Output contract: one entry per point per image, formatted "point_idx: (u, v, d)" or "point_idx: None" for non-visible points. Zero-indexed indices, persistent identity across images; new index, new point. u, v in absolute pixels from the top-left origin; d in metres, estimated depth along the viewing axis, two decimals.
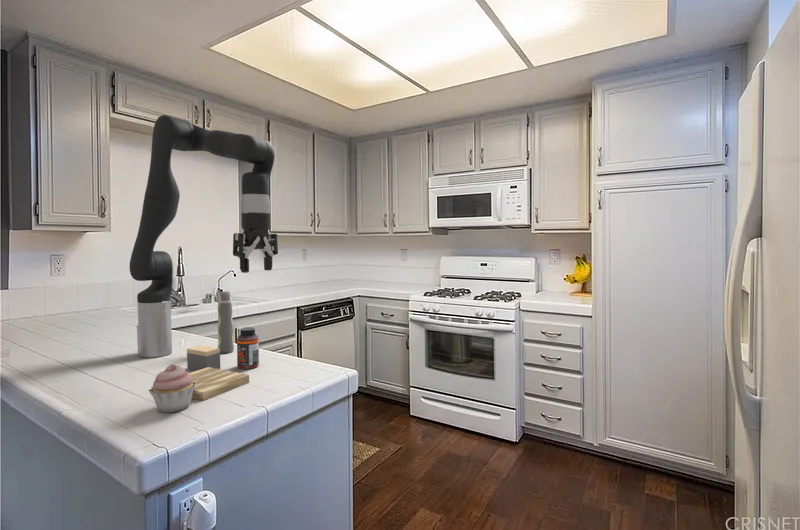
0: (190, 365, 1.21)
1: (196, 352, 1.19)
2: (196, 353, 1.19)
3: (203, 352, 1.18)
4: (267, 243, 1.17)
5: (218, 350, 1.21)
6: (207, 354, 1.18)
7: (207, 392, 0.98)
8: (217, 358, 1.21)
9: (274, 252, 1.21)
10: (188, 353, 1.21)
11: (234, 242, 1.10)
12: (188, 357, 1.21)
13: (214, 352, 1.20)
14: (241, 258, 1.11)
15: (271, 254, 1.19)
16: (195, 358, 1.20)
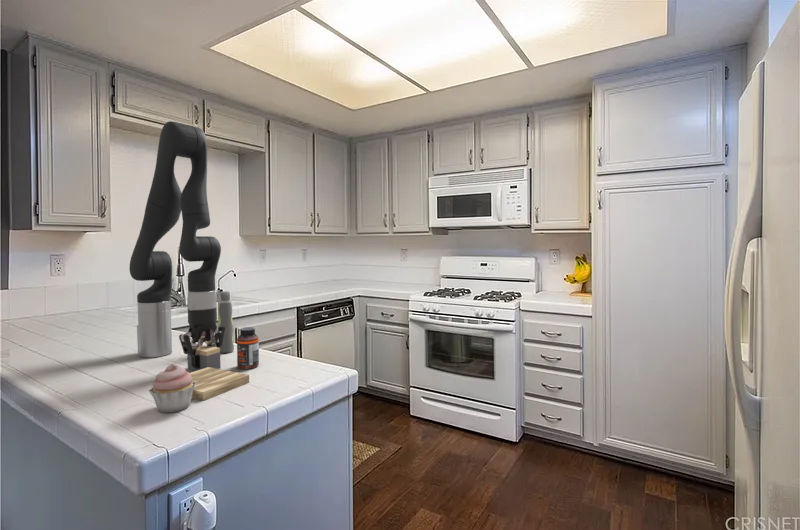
0: (190, 364, 1.21)
1: None
2: None
3: (203, 352, 1.18)
4: (212, 336, 1.22)
5: (218, 350, 1.21)
6: (207, 354, 1.18)
7: (207, 392, 0.98)
8: (217, 358, 1.21)
9: (218, 345, 1.25)
10: None
11: (182, 343, 1.16)
12: (188, 357, 1.21)
13: (214, 352, 1.20)
14: (193, 356, 1.18)
15: None
16: None
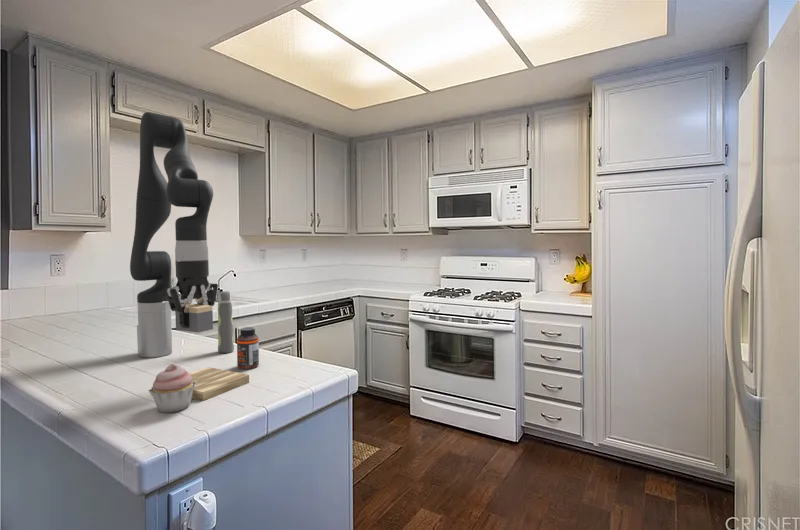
0: (179, 324, 1.07)
1: None
2: None
3: (193, 309, 1.04)
4: (204, 293, 1.08)
5: (210, 308, 1.07)
6: (198, 311, 1.04)
7: (207, 392, 0.98)
8: (209, 317, 1.07)
9: (210, 304, 1.11)
10: None
11: (168, 298, 1.02)
12: (176, 316, 1.07)
13: (206, 309, 1.06)
14: (181, 314, 1.05)
15: None
16: None
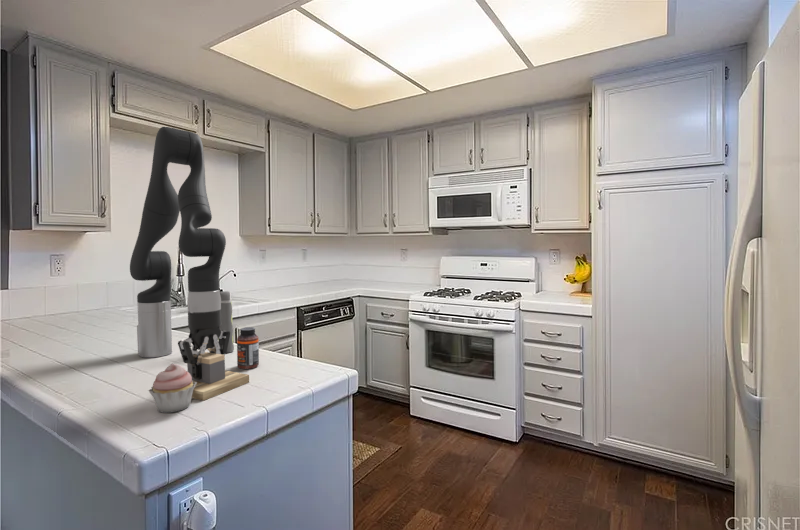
0: (191, 374, 1.06)
1: None
2: None
3: (206, 360, 1.03)
4: (216, 342, 1.07)
5: (223, 357, 1.06)
6: (210, 362, 1.03)
7: (207, 392, 0.98)
8: (222, 366, 1.06)
9: (222, 352, 1.10)
10: None
11: (181, 351, 1.01)
12: (188, 365, 1.06)
13: (218, 359, 1.05)
14: None
15: None
16: None
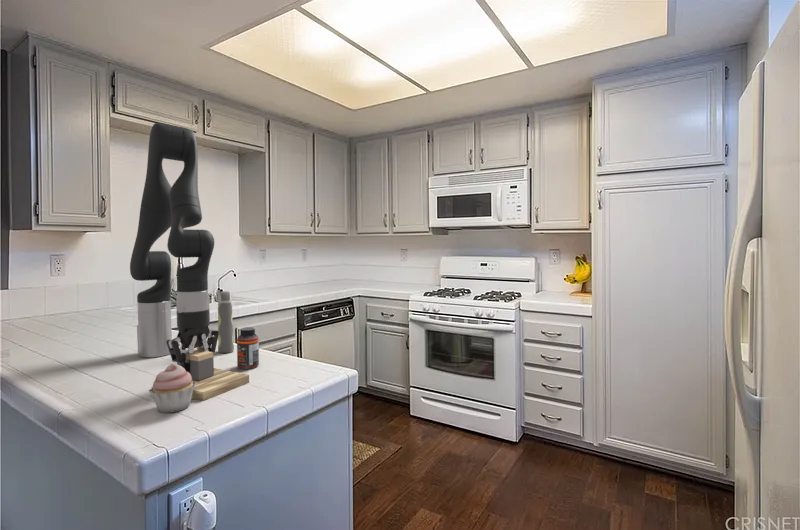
0: None
1: None
2: None
3: (194, 357, 1.05)
4: (205, 341, 1.09)
5: (211, 354, 1.08)
6: (199, 359, 1.05)
7: (207, 392, 0.98)
8: (210, 363, 1.08)
9: (211, 351, 1.12)
10: None
11: (170, 350, 1.03)
12: None
13: (207, 357, 1.07)
14: (182, 364, 1.05)
15: None
16: None
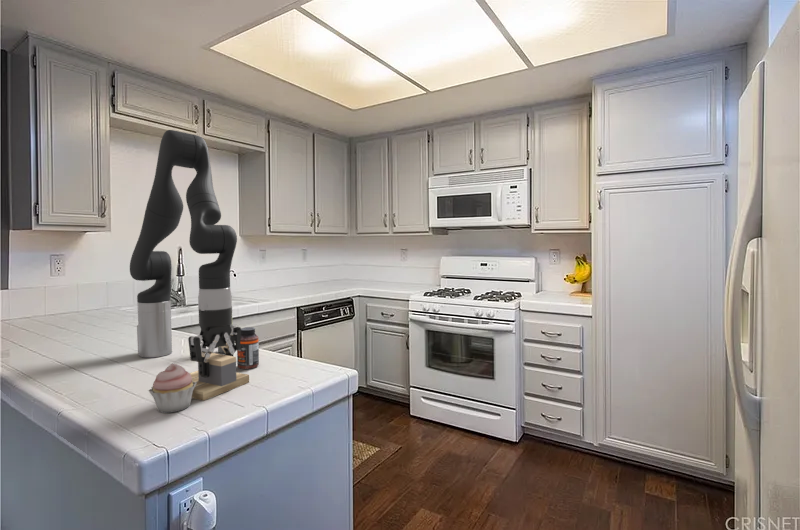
0: None
1: (209, 361, 1.03)
2: (209, 363, 1.03)
3: (217, 362, 1.02)
4: (228, 340, 1.06)
5: (234, 359, 1.05)
6: (222, 364, 1.01)
7: (207, 392, 0.98)
8: (233, 368, 1.04)
9: (235, 348, 1.09)
10: None
11: (190, 347, 0.99)
12: None
13: (230, 361, 1.03)
14: (200, 363, 1.01)
15: (232, 351, 1.08)
16: None
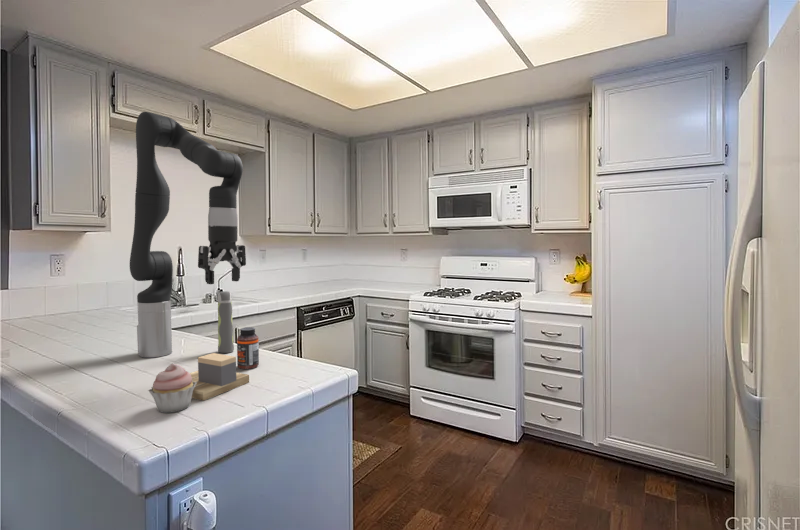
0: (202, 376, 1.04)
1: (209, 361, 1.03)
2: (209, 363, 1.03)
3: (217, 362, 1.02)
4: (234, 255, 1.20)
5: (234, 359, 1.05)
6: (222, 364, 1.01)
7: (207, 392, 0.98)
8: (233, 368, 1.04)
9: (242, 263, 1.23)
10: (199, 362, 1.04)
11: (199, 255, 1.12)
12: (199, 367, 1.04)
13: (230, 361, 1.03)
14: (206, 270, 1.14)
15: (238, 265, 1.22)
16: (207, 369, 1.03)
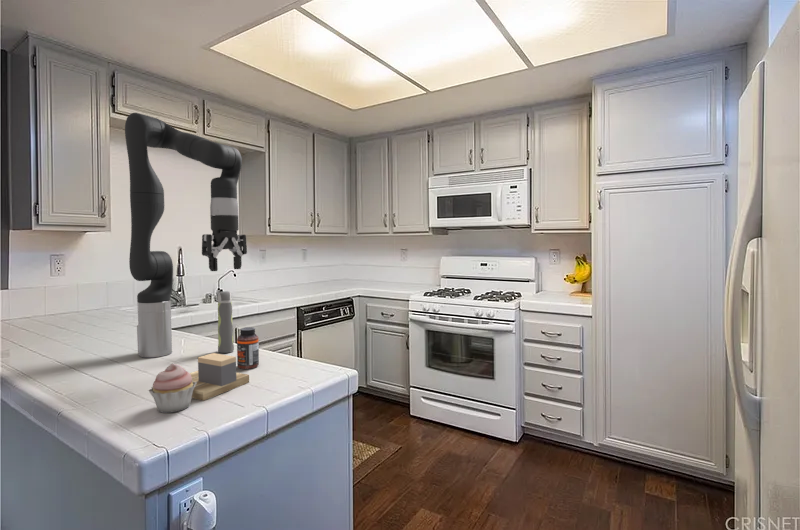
0: (202, 376, 1.04)
1: (209, 361, 1.03)
2: (209, 363, 1.03)
3: (217, 362, 1.02)
4: (235, 243, 1.25)
5: (234, 359, 1.05)
6: (222, 364, 1.01)
7: (207, 392, 0.98)
8: (233, 368, 1.04)
9: (243, 252, 1.29)
10: (199, 362, 1.04)
11: (203, 243, 1.18)
12: (199, 367, 1.04)
13: (230, 361, 1.03)
14: (210, 257, 1.19)
15: (240, 254, 1.27)
16: (207, 369, 1.03)
